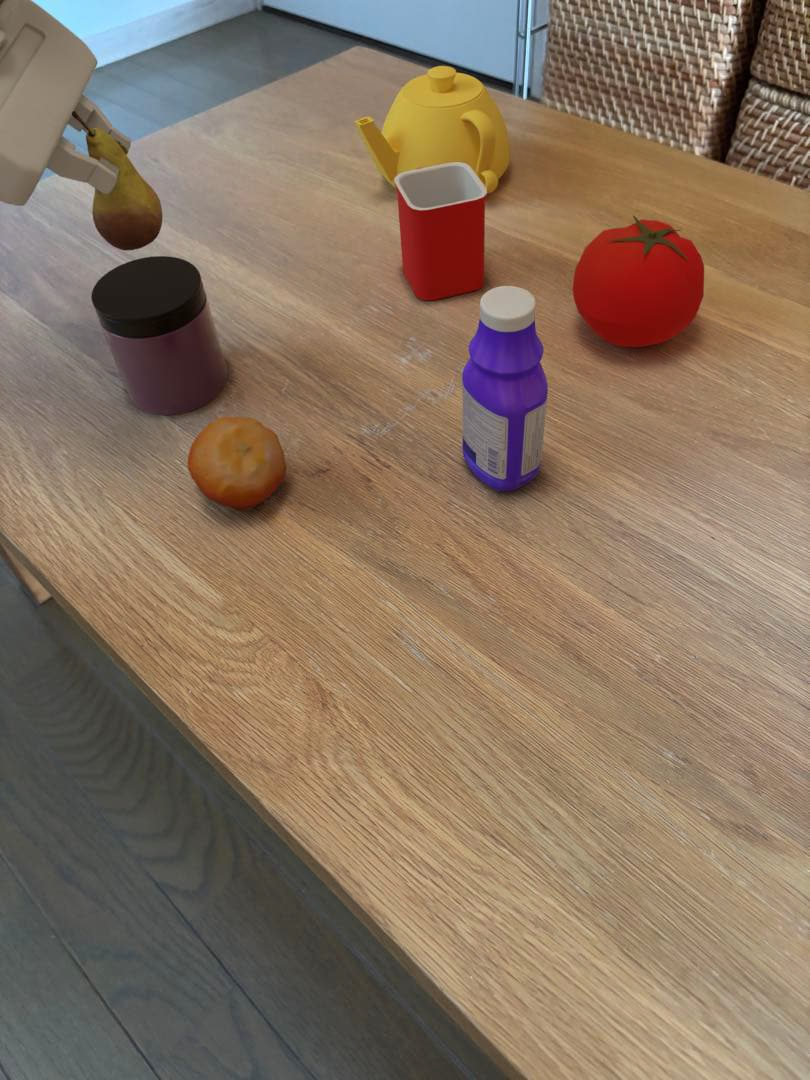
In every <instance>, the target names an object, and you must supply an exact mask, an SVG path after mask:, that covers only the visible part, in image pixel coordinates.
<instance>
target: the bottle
mask: <svg viewBox="0 0 810 1080" xmlns="http://www.w3.org/2000/svg"><path fill="white" fill-rule="evenodd" d="M544 351H545V350H544V345H543V343H542V340H541V339H540V338H539V336H538V334H537V329H536V299H535V296H534V295H533V294H532V293H531V292H530V291H528V290H527V289H524V288H522V287H520V286H515V285H500V286H497V287H493V288H491V289H489V290H487V291H486V292H485V293H484V294H483V295H481V299H480V301H479V320H478V326H477V330H476V332H475V335H474V336H473V337H472V339H470V341H469V343H468V354H469V356H470V357H469V358H468V360H467V361H466V363H465V365H464V367H463V370H462V375H461V381H462V383H461V384H462V385H461V387H462V448H461V449H462V454H463V457H464V460H465V463H466V464H467V466H468V468H469V469H470V471H471V472H472V473H473V474H474V475H475V477H477V479H479V480H480V482H482V483H484V484H485V485H486V486H488V487H490V488H492V489H494V490H495V491H499V492H504V493H505V492H510V491H513V490H517V489H519V488H521V487H522V486H525V485H527V483H530V482H531V481H532V480H533V479H534V478H535V477H536V476H537V475H538V473H539V471H540V469H541V465H542V457H543V448H544V447H543V446H544V438H545V427H546V426H545V425H546V413H547V404H548V393H549V385H548V380H547V376H546V373H545V370H544V368H543V365H542V363H541V361H542V359H543V356H544Z"/></svg>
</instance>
